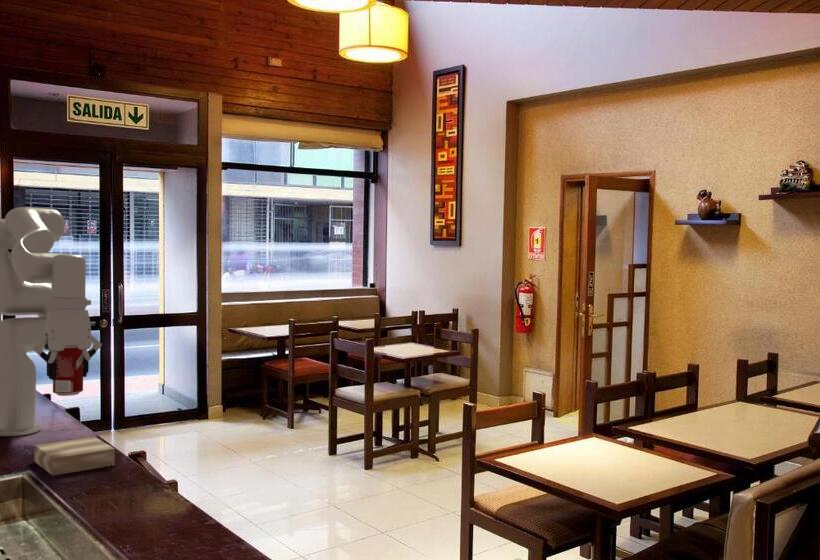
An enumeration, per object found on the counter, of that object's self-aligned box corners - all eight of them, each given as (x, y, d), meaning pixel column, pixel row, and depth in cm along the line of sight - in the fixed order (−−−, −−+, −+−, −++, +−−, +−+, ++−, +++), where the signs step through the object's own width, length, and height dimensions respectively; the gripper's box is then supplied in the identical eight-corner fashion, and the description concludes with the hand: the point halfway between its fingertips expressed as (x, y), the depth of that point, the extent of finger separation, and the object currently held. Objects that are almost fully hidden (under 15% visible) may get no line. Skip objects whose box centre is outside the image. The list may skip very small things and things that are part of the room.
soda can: (71, 397, 177) (71, 347, 177) (46, 395, 178) (46, 346, 178) (88, 392, 184) (89, 344, 183) (64, 390, 185) (65, 343, 185)
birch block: (34, 461, 178) (34, 445, 177) (93, 452, 187) (94, 436, 187) (52, 475, 167) (52, 458, 167) (114, 465, 177) (115, 448, 177)
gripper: (99, 303, 189) (98, 372, 189) (25, 304, 177) (24, 378, 178) (110, 304, 183) (109, 376, 184) (34, 306, 172) (34, 383, 172)
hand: (67, 376), depth 181 cm, fingers closed on soda can, 6 cm apart
